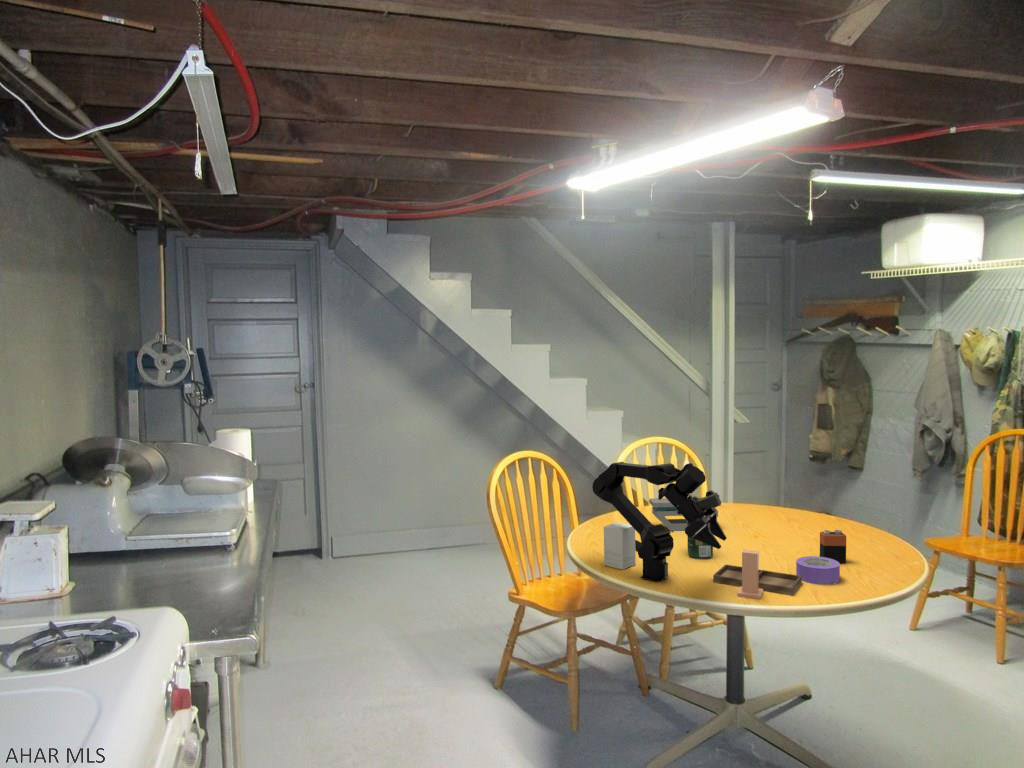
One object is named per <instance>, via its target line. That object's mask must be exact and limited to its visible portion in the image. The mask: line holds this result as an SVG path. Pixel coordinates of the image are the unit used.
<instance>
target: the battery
mask: <svg viewBox="0 0 1024 768" xmlns="http://www.w3.org/2000/svg"><path fill="white" fill-rule="evenodd" d="M819 557H825V558H830V559H833V560H836V561H837V562H839V564H842V563H844V564H846V563H847V535H846V534H845V533H843V530H842V529H834V531H830V530H824V531H820V532H819Z"/></svg>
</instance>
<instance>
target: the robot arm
mask: <svg viewBox="0 0 1024 768" xmlns="http://www.w3.org/2000/svg"><path fill="white" fill-rule="evenodd" d="M625 477H627V478H636V479H642V480H646V482H648V483H650V484H652V485H654V486H655V485H656V486H662V485H666V486H665V487H661V488H659V489H658V491H657V493H658V495H657V496H658V497H657V498H658V499H659V500H661V499H662V498H667V500H668V501H669V502H670V503H671V504H672V505H673V506H674V507H675V508H676V509H677V510H678V512H677V513H678V514H679V515H680V514H681V515H682V516H681V517H683V519H686V520H687V521H688V523H687V524H688V526H687V527H686V528H685V532H684V534H685V535H686V536H687V538H688V537H689V538H691V537H692V536H693V535H694V534H695V535H694V536H693V537H692V538H693V539H696V540H699V541H701V542H703V543H706V544H708V545H710V546H712V547H713V548H715V549H717V550H720V549H721V548H722V545H721V544H720V542H719V540H718V539H717V538H719V539H720V540H722V541H723V542H724V541H726V540H727V539H728V538H727V535H726V534H725V533H724V531H723V529H722V527H721V525H720V523H719V522H718V517H717V514H718V515H719V512H718V513H716V514H714V515H713V513H715V512H716V511H717V510H718V509H717V507H720V506H719V505H720V504H721V505H722V500H721V499H720V498H721V497H720V494H718V492H714V491H713V489H710V490H708V491H706V493H705V496H703V497H700V498H701V499H698V498H699V497H697V496H695V495H694V496H692V495H691V494H693V493H694V492H695V491H697V489H699V488H700V487H701V485H703V484H704V483H705V482H706V478H707V477H706V475H705V472H704V471H702V470H701V469H700V468H699V467H697V466H696V465H695V466H694V464H693V463H692V462H690V463H686V464H685V465H684V466H683V468H682V469H679V468H677V467H675V465H674V464H673V463H670V462H669V463H661V464H655V465H654V464H653V465H647V464H638V463H628V462H623V461H619V462H613V463H611V464H610V465H609V466H608V467H607V468H606V469H605V470H604V471H603V472H601V473H600V474H599V475H598V477H597V478H595V479H594V481H593V482H592V492H593V493H594V495H595V496H597V497H598V498H599V499H600V500H602V501H604V502H606V503H609V504H611V505H612V506H613V508H614V509H616V510H617V512H618V513H619V514H620V515H621V516H622V517H623V518H624V519H625V520H626V521H627V523H628V524H629V525H631V526H632V527H633V528H634V529H635V532H637V533H638V535H639V536H640V542H641V543H642V545H643V546H642V547H641V548H640V549H639V550H637V551H636V552H637V555H638V558H639V559H641V560H642V575H640V579H641V578H642V580H646V581H654V582H658V581H659V582H663V581H664V580H666V579H667V578H668V577H669V563H668V562H667V557H670V556H671V554H672V550H674V537H673V536H672V535H671V533H672V532H671V531H670V530H668V529H666V528H667V527H666V526H665V525H664V524H663V523H659V524H655V525H654V524H653V523H652V522H650V520H649V519H648V518H647V517H646V516H645V515H644V514H643V513H642V512H641V510H639V508H637V506H636V505H635V504H634V503H633V502H632V501H631V500H630V499H629V498H628V497H627V496H626V495H625V494H624V488H623V485H622V484H623V482H624V480H625ZM677 506H678V507H677ZM659 582H658V583H659Z"/></svg>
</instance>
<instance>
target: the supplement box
mask: <svg viewBox="0 0 1024 768" xmlns="http://www.w3.org/2000/svg"><path fill="white" fill-rule="evenodd" d="M635 540H636V530H635V529H634V528H633V527H632V526H631V525H630V524H629V523H623V522H618V521H617V522H613V523H610V524H607V525H604V526H603V557H604V558H603V559H604V560H603V564H604V566H605V565H607V566H606V567H609V566H611V567H610V568H613V567H615V568H614V569H618V568H619V569H618V570H622V569H623V570H625V568H626V569H628V567H629V568H631V567H633V565H634V566H636V565H635V564H637V563H636V561H637V560H636V559H637V557H636V548H635ZM630 566H631V567H630Z"/></svg>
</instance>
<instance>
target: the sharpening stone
mask: <svg viewBox="0 0 1024 768" xmlns="http://www.w3.org/2000/svg"><path fill="white" fill-rule="evenodd" d="M648 502H649V504H650V505H651V506H652V507H651V510H652V511H651V513H652V515H654V516H655V518H656V519H657V520H658V521H660V522H661V524H662V525H663V526H664V527H665V528H667V530H668V531H669V532H671V531H685V528H686V527H687V520H686V519H685V518H666V517H683V516H682V515H681V514H680V515H679V514H678V513H677V512H678V510H677V509H676V508H675V507H674V506H673V505H672V504H671V503H670V502H669V501H668V500H667V498H666V497H663V498H662V499H661V500H659V499H658V497H657V498H648ZM677 507H678V506H677ZM718 507H722V503H721V504H720V505H719V506H718ZM716 513H718V514H717V518H718V517H719V510H718V509H717V511H716V512H715V513H713V515H714V514H716Z"/></svg>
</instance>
